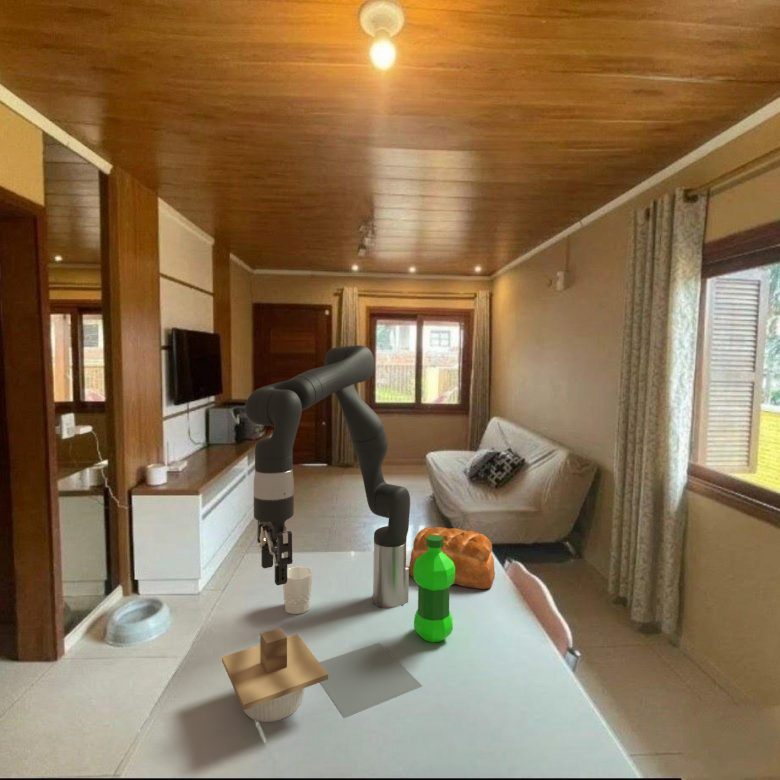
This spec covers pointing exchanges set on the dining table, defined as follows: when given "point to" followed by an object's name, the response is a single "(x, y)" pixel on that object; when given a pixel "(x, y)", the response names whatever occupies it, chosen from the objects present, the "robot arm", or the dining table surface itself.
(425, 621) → the plastic bottle
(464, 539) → the bread
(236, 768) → the dining table surface
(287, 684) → the oak lid
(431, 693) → the dining table surface
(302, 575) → the white cup
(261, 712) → the ramekin
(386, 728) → the dining table surface
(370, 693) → the grey mat
